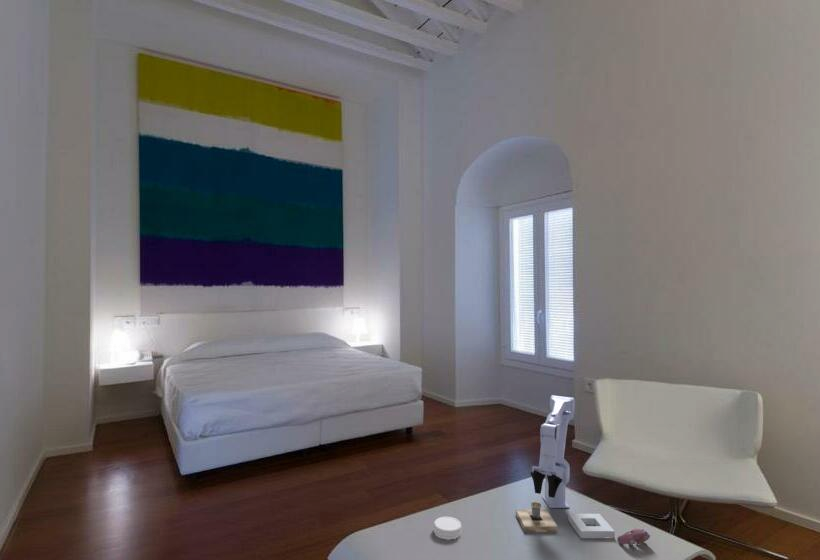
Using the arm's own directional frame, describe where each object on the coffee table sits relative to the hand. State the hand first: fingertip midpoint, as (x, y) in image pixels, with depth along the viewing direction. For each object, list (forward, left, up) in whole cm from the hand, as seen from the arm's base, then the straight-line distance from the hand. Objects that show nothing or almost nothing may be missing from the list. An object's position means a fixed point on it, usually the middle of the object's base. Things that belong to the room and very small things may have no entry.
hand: (544, 495), depth 162 cm
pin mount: (-3, -2, -12) cm, 12 cm away
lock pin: (-3, -2, -12) cm, 12 cm away
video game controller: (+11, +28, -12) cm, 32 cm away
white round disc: (+3, -36, -12) cm, 38 cm away
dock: (+1, +17, -12) cm, 20 cm away
